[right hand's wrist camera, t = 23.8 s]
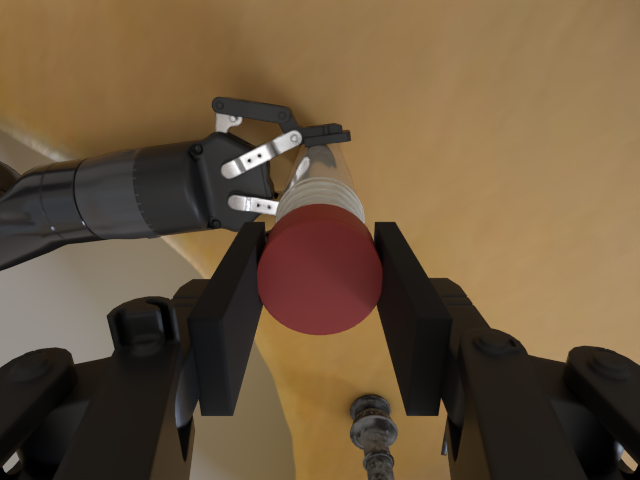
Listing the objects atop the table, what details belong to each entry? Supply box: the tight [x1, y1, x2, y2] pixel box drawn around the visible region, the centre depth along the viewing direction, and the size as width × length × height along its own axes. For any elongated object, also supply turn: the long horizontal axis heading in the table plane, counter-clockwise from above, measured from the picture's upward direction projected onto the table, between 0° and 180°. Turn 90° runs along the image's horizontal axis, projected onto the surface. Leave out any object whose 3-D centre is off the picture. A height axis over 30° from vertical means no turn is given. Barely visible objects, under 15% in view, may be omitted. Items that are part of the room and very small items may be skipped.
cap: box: [257, 204, 383, 335], centre depth 13 cm, size 4×4×2 cm
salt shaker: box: [350, 395, 398, 480], centre depth 43 cm, size 6×6×12 cm
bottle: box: [275, 143, 365, 224], centre depth 25 cm, size 4×4×26 cm
